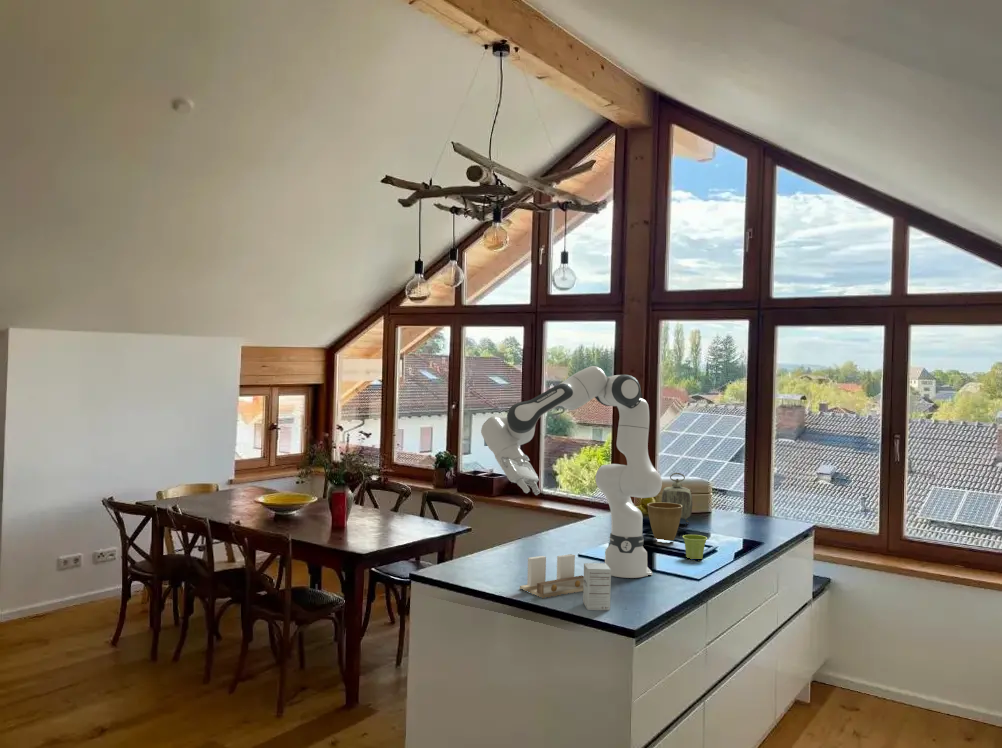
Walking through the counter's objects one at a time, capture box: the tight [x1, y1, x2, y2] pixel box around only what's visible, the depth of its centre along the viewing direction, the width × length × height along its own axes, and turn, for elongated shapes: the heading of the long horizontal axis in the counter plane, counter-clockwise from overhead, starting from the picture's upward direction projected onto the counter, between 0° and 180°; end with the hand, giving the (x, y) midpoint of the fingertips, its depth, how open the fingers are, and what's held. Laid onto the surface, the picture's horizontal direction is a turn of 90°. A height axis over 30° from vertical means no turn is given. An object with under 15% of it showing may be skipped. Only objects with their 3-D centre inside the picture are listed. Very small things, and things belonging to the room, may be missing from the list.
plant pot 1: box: [646, 501, 682, 540], centre depth 343 cm, size 15×15×16 cm
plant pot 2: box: [682, 534, 708, 560], centre depth 311 cm, size 9×9×9 cm
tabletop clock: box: [661, 472, 693, 523], centre depth 384 cm, size 14×9×25 cm, turn 79°
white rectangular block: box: [526, 555, 547, 587], centre depth 261 cm, size 2×6×9 cm, turn 126°
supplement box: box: [582, 562, 612, 611], centre depth 243 cm, size 7×7×13 cm
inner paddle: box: [556, 553, 576, 580], centre depth 264 cm, size 2×6×9 cm, turn 126°
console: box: [519, 575, 584, 599], centre depth 261 cm, size 12×19×4 cm, turn 126°
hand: (532, 492), depth 263 cm, fingers open, 8 cm apart
